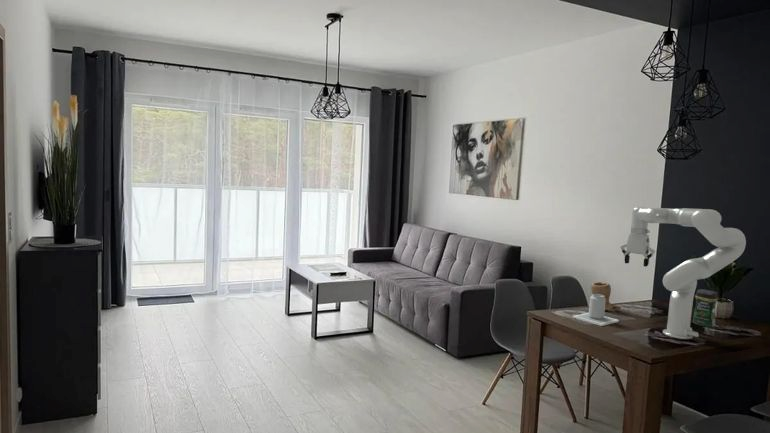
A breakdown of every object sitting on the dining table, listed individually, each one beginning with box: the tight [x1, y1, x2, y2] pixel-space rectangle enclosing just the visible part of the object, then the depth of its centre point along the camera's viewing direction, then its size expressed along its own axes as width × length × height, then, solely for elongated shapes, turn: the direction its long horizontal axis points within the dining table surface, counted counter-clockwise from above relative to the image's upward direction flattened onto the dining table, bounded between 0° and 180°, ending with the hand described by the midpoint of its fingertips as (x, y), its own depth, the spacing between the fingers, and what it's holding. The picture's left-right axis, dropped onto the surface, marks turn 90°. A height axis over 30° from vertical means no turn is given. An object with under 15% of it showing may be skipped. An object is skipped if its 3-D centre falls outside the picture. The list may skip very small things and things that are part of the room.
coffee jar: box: [691, 288, 719, 328], centre depth 275 cm, size 10×8×19 cm
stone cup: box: [590, 281, 622, 312], centre depth 298 cm, size 15×12×15 cm
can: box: [588, 293, 606, 319], centre depth 274 cm, size 8×8×12 cm
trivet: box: [572, 312, 620, 327], centre depth 275 cm, size 16×16×1 cm
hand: (636, 264), depth 272 cm, fingers open, 9 cm apart
